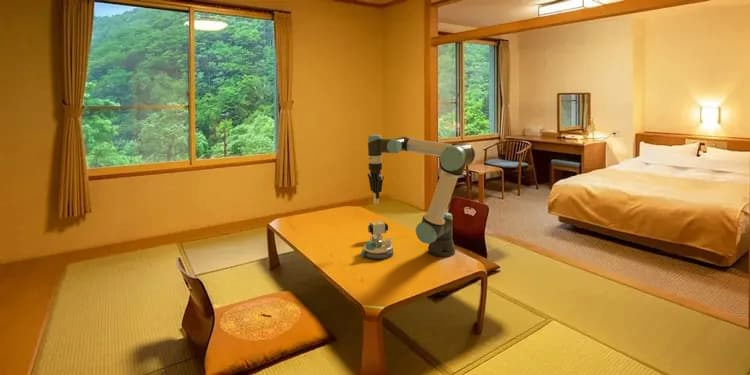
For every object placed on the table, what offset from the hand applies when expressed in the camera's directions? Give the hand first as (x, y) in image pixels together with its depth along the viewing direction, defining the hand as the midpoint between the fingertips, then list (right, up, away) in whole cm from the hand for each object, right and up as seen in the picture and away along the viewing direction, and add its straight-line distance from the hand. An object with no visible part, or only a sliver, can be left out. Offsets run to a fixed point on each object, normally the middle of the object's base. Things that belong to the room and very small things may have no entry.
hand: (376, 203), depth 240 cm
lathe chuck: (+1, -25, -6) cm, 26 cm away
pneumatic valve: (+1, -23, +19) cm, 30 cm away
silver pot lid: (+1, -28, -5) cm, 29 cm away
